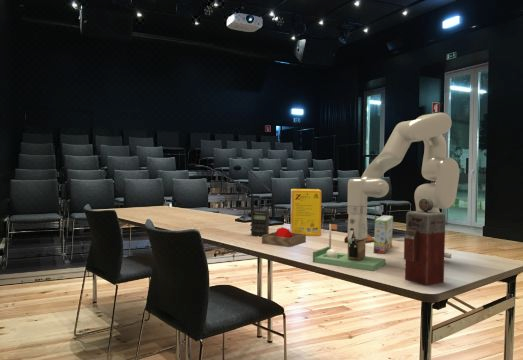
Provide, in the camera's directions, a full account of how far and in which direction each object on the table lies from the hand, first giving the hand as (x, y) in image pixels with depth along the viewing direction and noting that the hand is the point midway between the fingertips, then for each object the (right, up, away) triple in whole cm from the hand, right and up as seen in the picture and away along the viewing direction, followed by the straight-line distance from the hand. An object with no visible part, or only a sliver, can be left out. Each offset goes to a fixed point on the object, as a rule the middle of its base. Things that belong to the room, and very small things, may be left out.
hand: (356, 255), depth 168 cm
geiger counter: (-39, -1, +64) cm, 75 cm away
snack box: (+19, -3, +30) cm, 36 cm away
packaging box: (-13, -1, +74) cm, 75 cm away
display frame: (-26, -2, +45) cm, 52 cm away
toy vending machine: (+17, -5, -24) cm, 30 cm away
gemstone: (-27, -2, +43) cm, 51 cm away
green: (-2, -3, +2) cm, 4 cm away
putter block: (0, -1, 0) cm, 1 cm away
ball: (-9, -1, +6) cm, 10 cm away
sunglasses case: (+14, -3, +50) cm, 51 cm away
